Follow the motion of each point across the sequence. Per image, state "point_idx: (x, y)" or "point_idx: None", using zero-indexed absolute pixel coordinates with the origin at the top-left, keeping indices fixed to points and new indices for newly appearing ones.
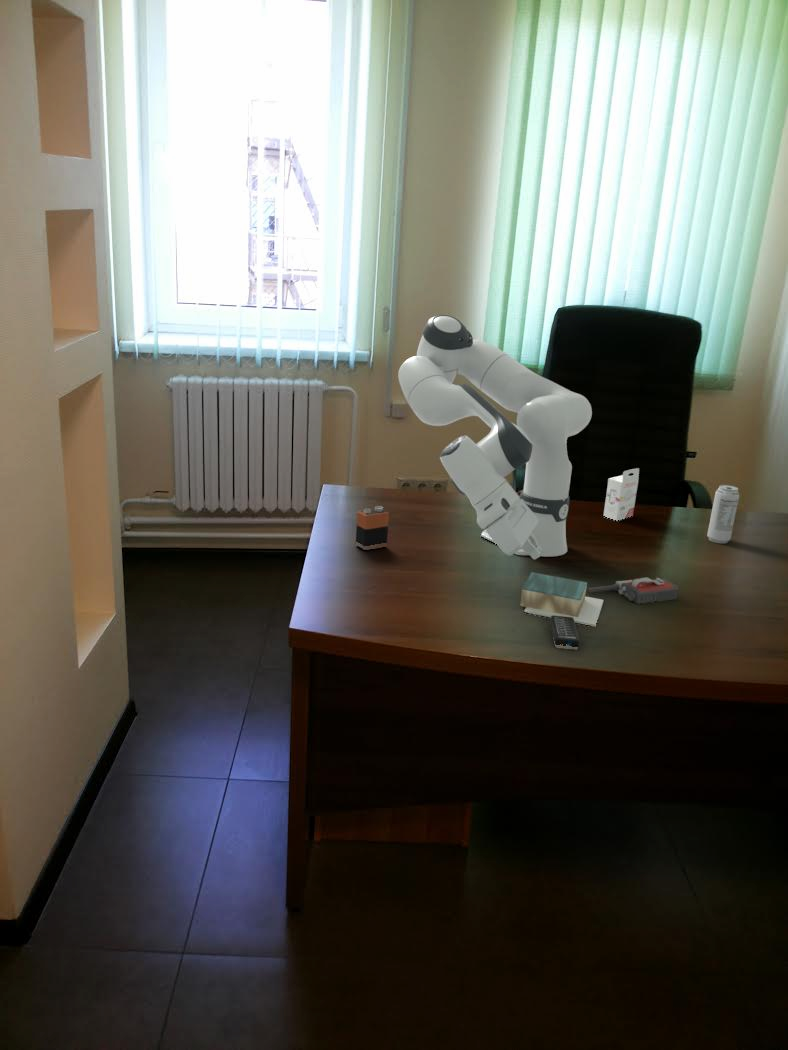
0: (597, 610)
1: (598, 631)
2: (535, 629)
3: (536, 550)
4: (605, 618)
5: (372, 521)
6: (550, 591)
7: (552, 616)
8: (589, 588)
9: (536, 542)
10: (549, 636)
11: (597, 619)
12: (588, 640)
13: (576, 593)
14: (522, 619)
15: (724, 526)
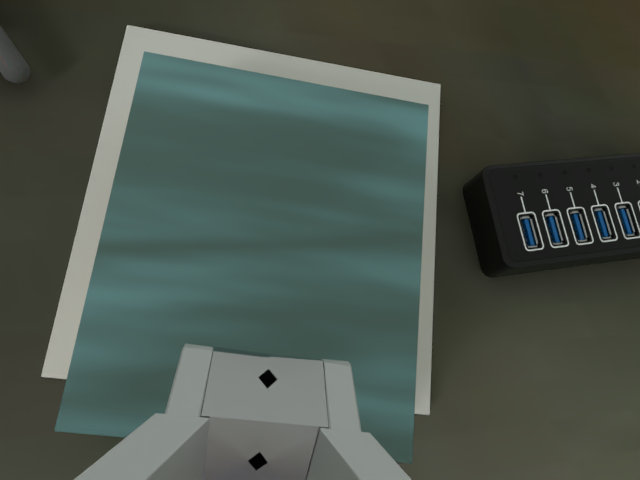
0: (277, 64)
1: (465, 83)
2: (573, 340)
3: (358, 415)
4: (320, 44)
5: None
6: (391, 270)
7: (521, 261)
8: (13, 72)
9: (157, 447)
10: (608, 275)
11: (374, 73)
12: (564, 125)
13: (354, 121)
14: (498, 413)
15: None
